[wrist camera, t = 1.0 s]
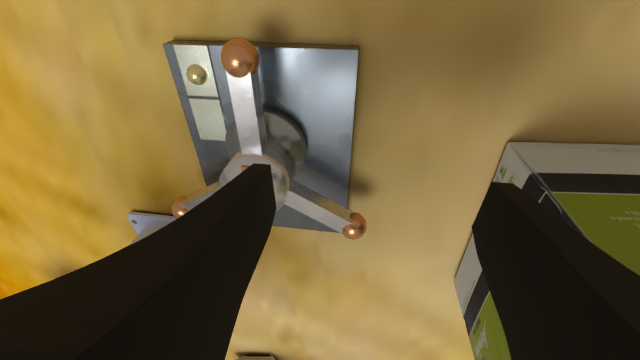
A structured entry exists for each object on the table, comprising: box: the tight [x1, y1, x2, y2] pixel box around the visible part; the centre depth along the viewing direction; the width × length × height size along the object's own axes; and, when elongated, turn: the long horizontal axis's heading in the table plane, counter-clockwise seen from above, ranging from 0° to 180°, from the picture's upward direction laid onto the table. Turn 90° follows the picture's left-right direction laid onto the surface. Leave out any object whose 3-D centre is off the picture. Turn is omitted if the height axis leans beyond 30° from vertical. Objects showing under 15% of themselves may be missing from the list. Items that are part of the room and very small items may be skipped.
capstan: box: [171, 38, 367, 239], centre depth 17 cm, size 12×14×4 cm
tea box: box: [454, 142, 640, 360], centre depth 16 cm, size 15×10×15 cm
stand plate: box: [163, 40, 359, 233], centre depth 20 cm, size 14×11×2 cm
